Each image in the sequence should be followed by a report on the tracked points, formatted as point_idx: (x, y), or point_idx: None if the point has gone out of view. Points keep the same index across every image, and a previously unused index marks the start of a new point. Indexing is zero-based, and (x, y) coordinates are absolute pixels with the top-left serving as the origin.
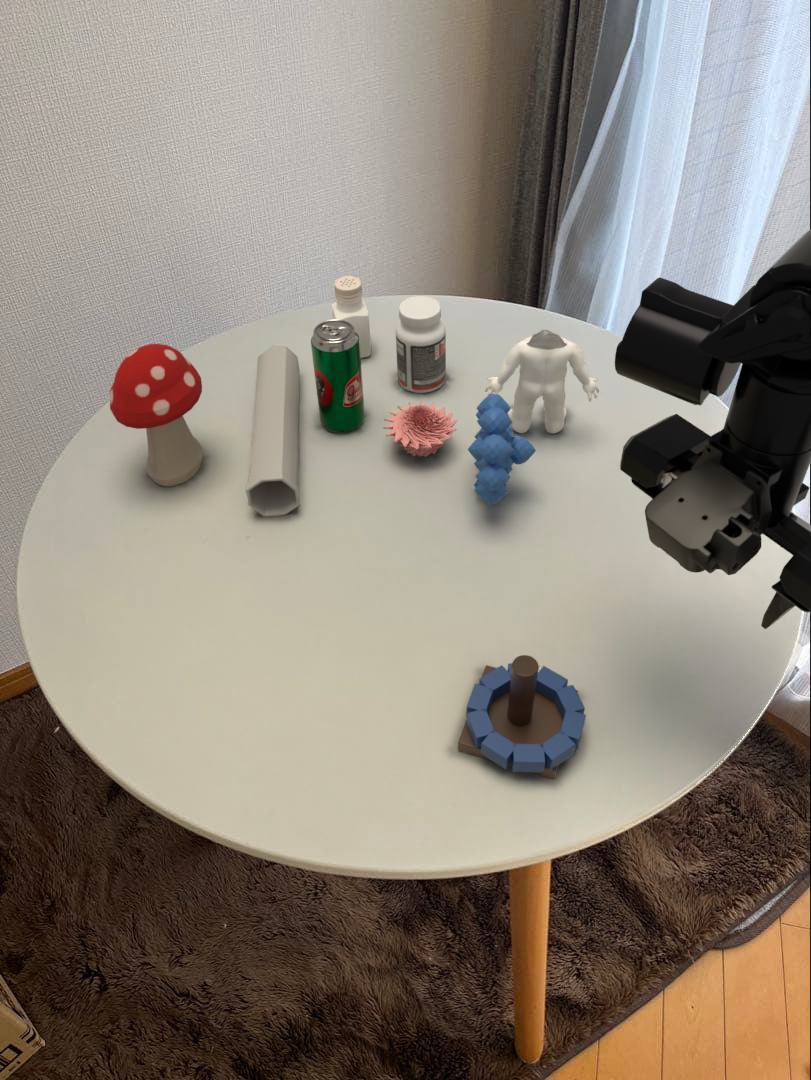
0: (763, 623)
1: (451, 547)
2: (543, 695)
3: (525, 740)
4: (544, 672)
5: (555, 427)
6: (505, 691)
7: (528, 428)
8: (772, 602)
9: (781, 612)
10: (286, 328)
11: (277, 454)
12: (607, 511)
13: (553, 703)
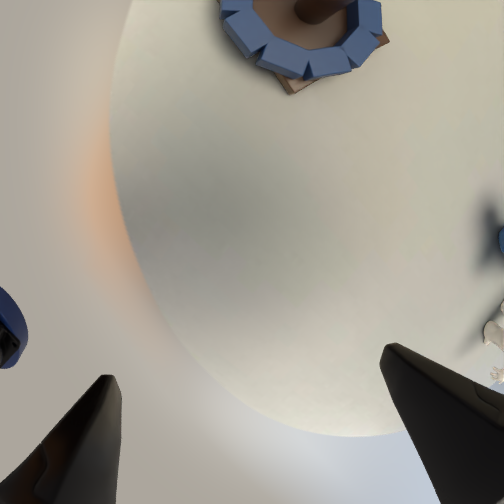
0: (103, 384)
1: (494, 157)
2: None
3: None
4: (342, 62)
5: (490, 328)
6: (348, 22)
7: (501, 309)
8: (64, 460)
9: (39, 445)
10: None
11: None
12: (425, 315)
13: None
